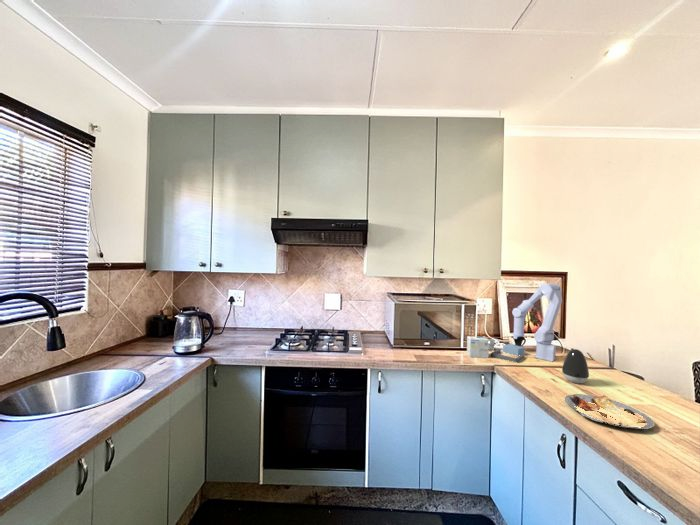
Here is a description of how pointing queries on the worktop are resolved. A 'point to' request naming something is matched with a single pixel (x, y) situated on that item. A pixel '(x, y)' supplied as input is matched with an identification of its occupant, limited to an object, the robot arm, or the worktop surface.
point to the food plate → (604, 407)
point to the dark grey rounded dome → (575, 367)
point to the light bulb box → (477, 347)
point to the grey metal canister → (491, 344)
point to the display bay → (496, 355)
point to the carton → (513, 349)
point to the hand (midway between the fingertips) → (518, 348)
